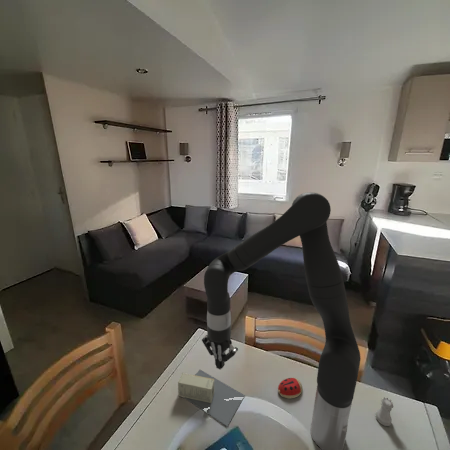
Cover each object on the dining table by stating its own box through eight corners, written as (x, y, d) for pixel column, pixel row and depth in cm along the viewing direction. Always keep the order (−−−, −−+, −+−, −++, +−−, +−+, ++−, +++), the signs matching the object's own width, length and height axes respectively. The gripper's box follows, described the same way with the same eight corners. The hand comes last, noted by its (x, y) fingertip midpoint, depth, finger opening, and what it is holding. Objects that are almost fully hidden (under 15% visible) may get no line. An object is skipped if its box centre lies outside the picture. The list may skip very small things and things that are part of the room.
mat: (244, 395, 83) (244, 395, 83) (227, 427, 74) (227, 426, 73) (199, 370, 93) (199, 369, 93) (179, 394, 84) (179, 393, 83)
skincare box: (214, 378, 83) (182, 371, 85) (211, 390, 78) (177, 382, 81) (214, 392, 84) (182, 385, 87) (211, 404, 80) (177, 396, 82)
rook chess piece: (375, 409, 79) (380, 391, 77) (391, 418, 77) (396, 400, 75) (373, 420, 76) (378, 401, 74) (390, 430, 73) (395, 411, 71)
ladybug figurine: (306, 393, 85) (307, 385, 84) (284, 404, 81) (285, 396, 80) (294, 378, 91) (295, 371, 90) (273, 387, 87) (273, 379, 86)
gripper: (243, 321, 73) (242, 367, 77) (208, 309, 80) (209, 351, 84) (231, 336, 67) (231, 385, 71) (194, 321, 74) (197, 366, 78)
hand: (219, 367), depth 78 cm, fingers closed
